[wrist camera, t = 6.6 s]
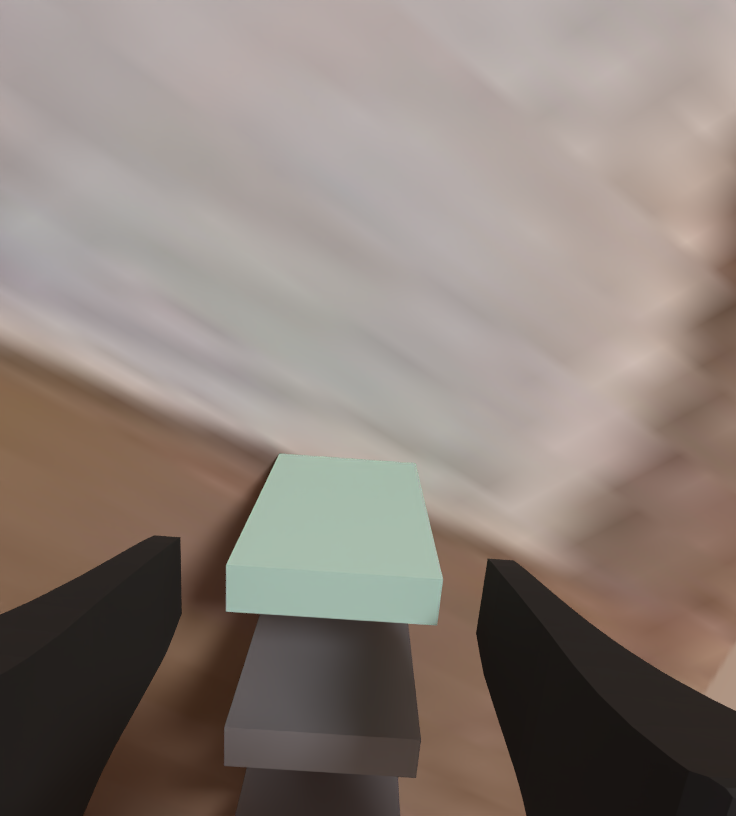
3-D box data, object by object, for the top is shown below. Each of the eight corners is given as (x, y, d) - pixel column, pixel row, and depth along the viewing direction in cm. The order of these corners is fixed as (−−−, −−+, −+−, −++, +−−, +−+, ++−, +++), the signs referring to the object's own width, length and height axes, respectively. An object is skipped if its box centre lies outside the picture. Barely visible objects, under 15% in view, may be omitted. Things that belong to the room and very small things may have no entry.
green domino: (279, 453, 18) (226, 564, 11) (415, 463, 18) (443, 579, 11) (278, 485, 18) (226, 611, 12) (412, 494, 18) (436, 625, 12)
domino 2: (389, 698, 21) (399, 905, 14) (270, 691, 21) (223, 894, 14) (391, 674, 21) (403, 873, 14) (271, 666, 20) (223, 862, 14)
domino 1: (399, 603, 20) (415, 777, 13) (274, 594, 20) (224, 765, 13) (402, 575, 19) (421, 739, 13) (275, 566, 19) (224, 727, 12)
